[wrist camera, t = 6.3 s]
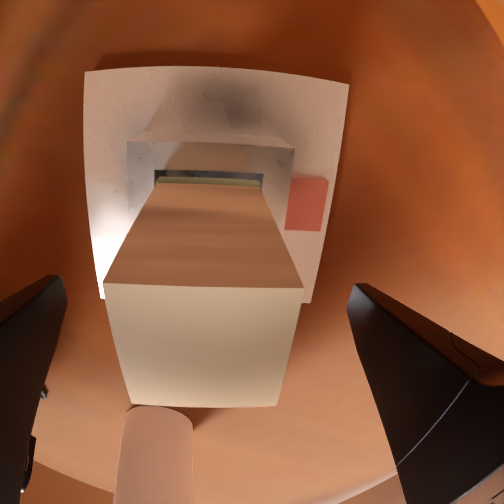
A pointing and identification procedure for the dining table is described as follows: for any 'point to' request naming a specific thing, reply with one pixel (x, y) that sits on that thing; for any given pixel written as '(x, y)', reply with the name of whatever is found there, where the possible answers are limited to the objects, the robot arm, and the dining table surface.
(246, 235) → the post
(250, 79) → the sleeve stand
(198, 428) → the dining table surface
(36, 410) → the robot arm
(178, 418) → the cylindrical container
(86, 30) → the dining table surface
